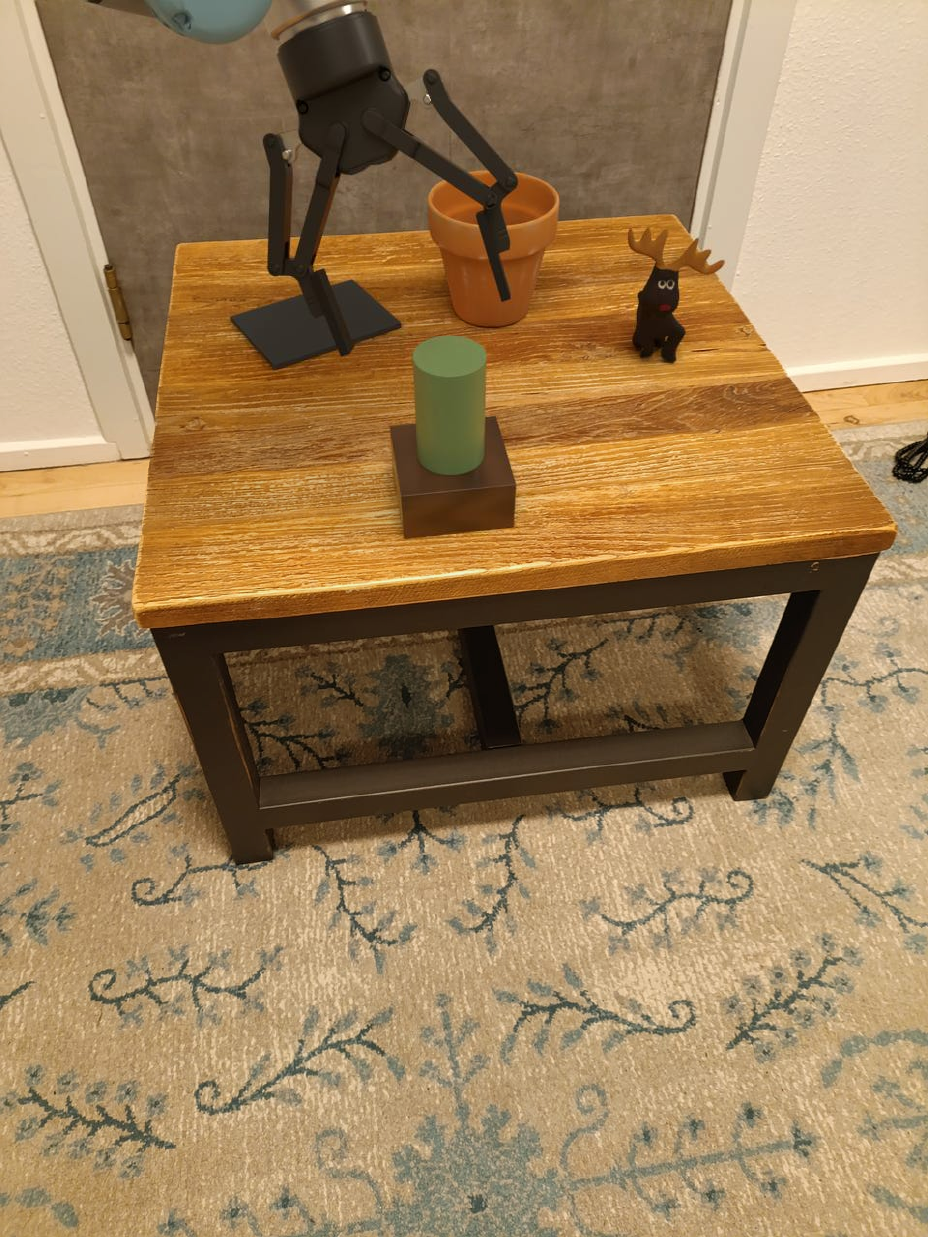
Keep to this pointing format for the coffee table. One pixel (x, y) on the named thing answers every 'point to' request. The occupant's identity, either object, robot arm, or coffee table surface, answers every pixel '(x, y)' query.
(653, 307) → the figurine
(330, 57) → the robot arm
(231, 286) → the coffee table surface
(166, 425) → the coffee table surface
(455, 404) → the green canister
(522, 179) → the flower pot
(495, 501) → the dark brown square block
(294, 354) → the slate mat
